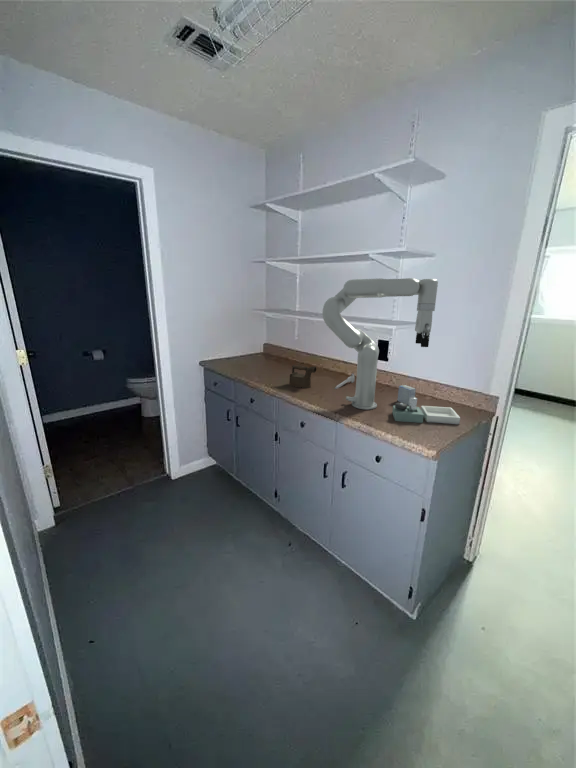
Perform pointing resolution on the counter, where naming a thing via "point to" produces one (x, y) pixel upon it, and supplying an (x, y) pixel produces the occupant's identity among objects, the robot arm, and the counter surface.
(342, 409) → the counter surface
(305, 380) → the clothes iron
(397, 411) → the green slotted box
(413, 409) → the pin
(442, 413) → the tray
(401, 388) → the medicine box
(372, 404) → the robot arm
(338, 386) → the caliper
